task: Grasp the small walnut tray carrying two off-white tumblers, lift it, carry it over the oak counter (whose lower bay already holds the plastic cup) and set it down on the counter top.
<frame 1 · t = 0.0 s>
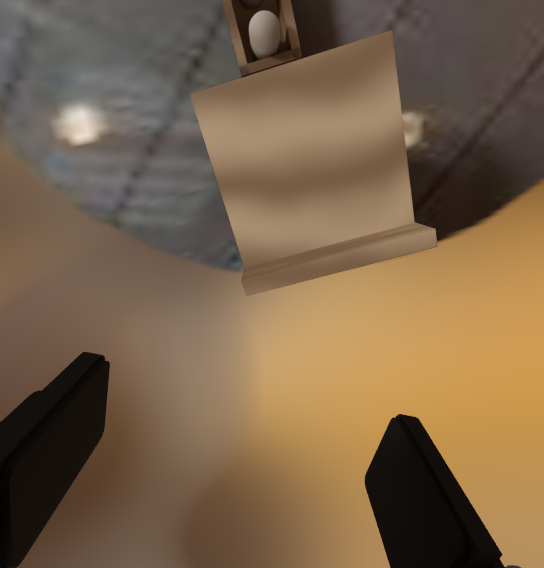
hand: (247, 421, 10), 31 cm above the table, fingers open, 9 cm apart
counter: (293, 173, 37), on the table
tray: (258, 26, 32), on the table
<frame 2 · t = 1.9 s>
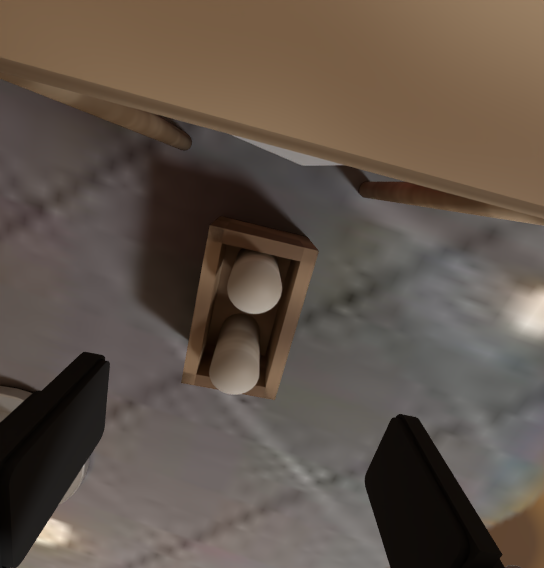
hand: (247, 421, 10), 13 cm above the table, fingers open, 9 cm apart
plastic cup: (297, 79, 18), on the table
counter: (303, 56, 18), on the table
tray: (248, 294, 22), on the table
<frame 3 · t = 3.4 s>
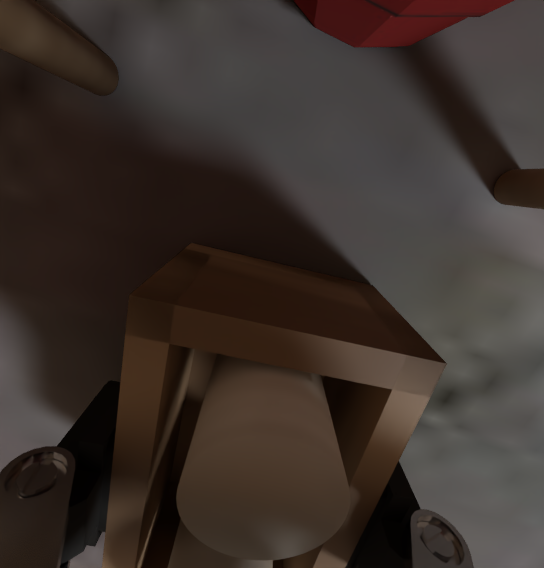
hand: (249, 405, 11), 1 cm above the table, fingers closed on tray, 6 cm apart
tray: (250, 390, 11), on the table, touching gripper
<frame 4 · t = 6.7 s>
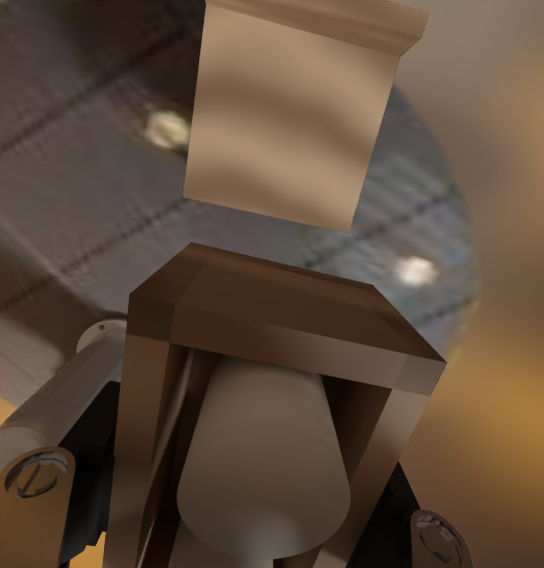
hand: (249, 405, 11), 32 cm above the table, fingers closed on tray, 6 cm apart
counter: (277, 146, 37), on the table
tray: (250, 390, 11), point 31 cm above the table, touching gripper
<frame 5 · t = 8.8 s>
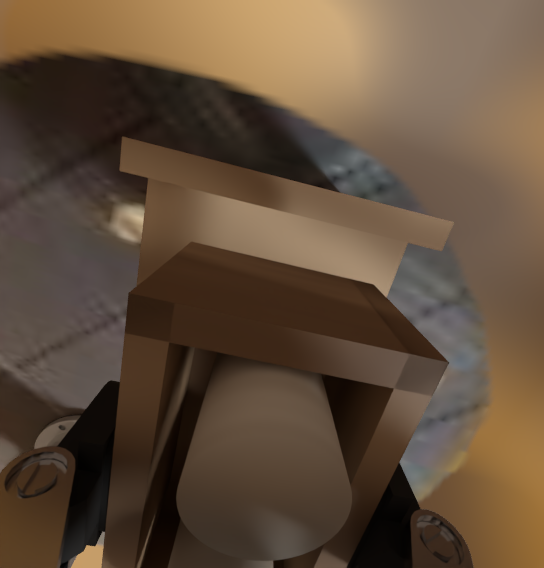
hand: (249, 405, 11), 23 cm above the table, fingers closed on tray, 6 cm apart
counter: (263, 243, 32), on the table
tray: (250, 390, 11), point 22 cm above the table, touching gripper
when the fingers open (18 cm above the table, at t = 10.2 s): tray stays where it is, resting on counter.
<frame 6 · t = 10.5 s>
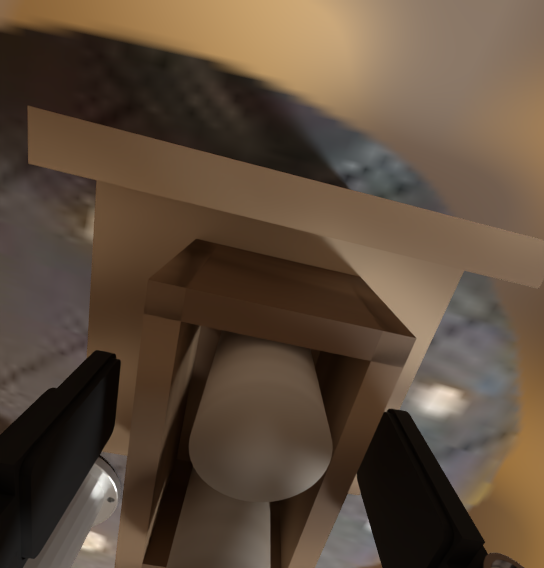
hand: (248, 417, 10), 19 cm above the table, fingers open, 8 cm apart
counter: (264, 253, 28), on the table
tray: (250, 374, 13), point 16 cm above the table, touching counter
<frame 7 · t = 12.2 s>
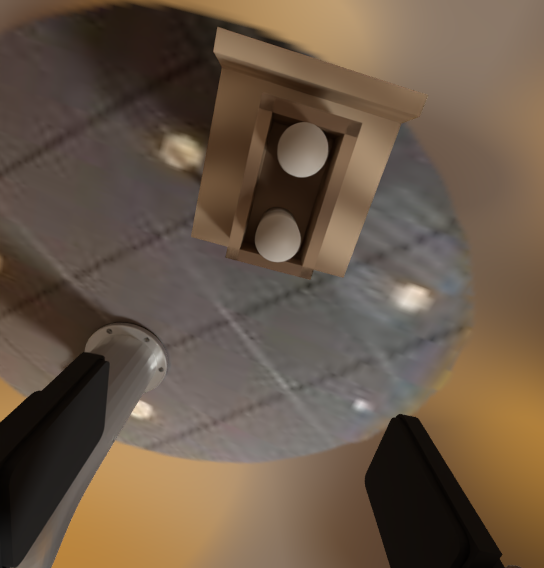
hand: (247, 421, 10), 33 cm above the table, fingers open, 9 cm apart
counter: (285, 172, 39), on the table
tray: (286, 190, 24), point 16 cm above the table, touching counter
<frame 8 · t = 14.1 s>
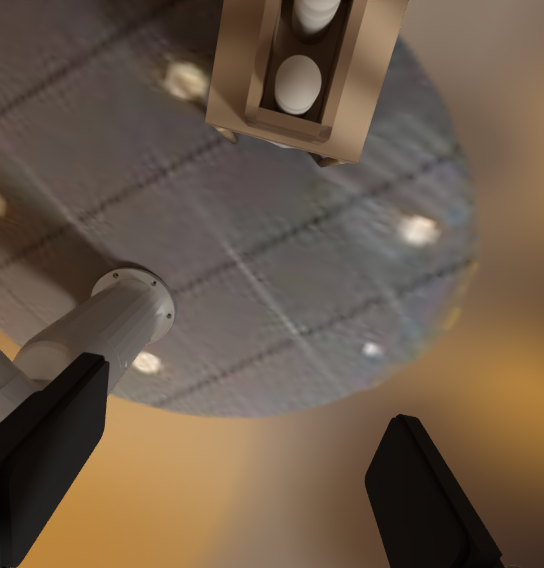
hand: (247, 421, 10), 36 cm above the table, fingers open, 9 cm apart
counter: (290, 100, 39), on the table
tray: (300, 66, 24), point 16 cm above the table, touching counter
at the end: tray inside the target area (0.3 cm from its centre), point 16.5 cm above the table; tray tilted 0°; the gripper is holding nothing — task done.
